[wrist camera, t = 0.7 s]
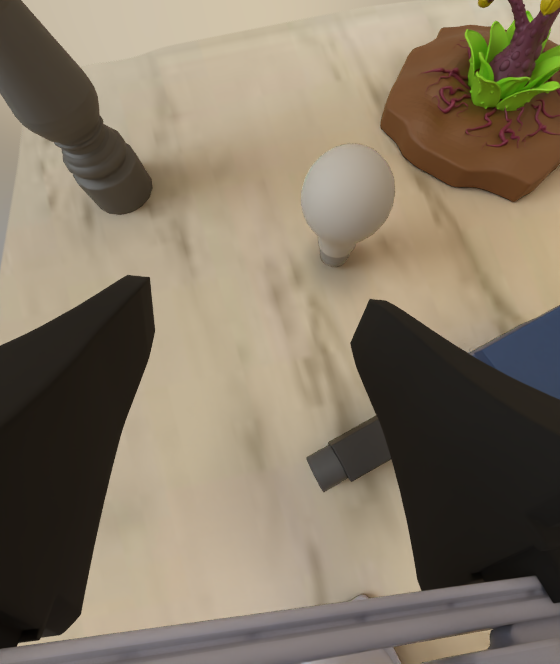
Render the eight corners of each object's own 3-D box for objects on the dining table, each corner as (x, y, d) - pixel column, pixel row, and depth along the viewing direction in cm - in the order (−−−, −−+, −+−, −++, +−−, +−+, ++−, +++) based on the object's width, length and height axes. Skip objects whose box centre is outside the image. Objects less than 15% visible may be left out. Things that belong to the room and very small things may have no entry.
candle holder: (162, 174, 31) (-273, -606, 7) (135, 221, 30) (-521, -572, 6) (113, 161, 32) (-412, -569, 8) (84, 205, 31) (-656, -532, 7)
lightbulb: (377, 247, 27) (427, 140, 17) (347, 300, 26) (380, 220, 16) (320, 221, 29) (332, 106, 18) (288, 270, 27) (282, 176, 17)
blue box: (617, 437, 22) (696, 441, 17) (537, 486, 21) (598, 503, 17) (521, 321, 25) (568, 301, 20) (448, 362, 24) (481, 349, 20)
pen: (435, 382, 24) (452, 377, 21) (456, 411, 23) (475, 410, 20) (305, 455, 23) (306, 459, 20) (322, 488, 22) (325, 497, 19)
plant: (349, 139, 31) (376, -7, 20) (436, 32, 35) (497, -138, 24) (535, 227, 27) (693, 101, 16) (611, 95, 31) (778, -78, 20)
